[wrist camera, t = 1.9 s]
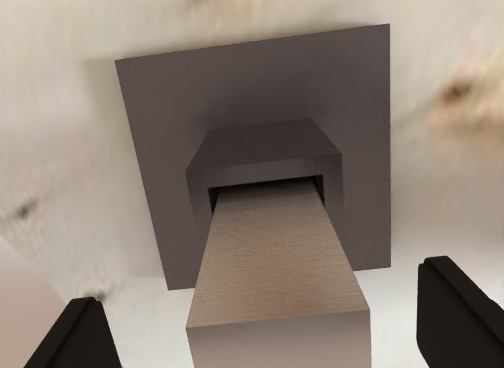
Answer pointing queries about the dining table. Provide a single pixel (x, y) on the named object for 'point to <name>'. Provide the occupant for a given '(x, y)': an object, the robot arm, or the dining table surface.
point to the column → (276, 285)
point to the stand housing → (264, 135)
